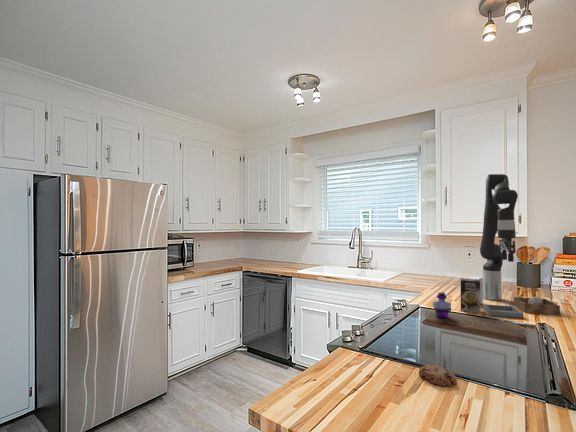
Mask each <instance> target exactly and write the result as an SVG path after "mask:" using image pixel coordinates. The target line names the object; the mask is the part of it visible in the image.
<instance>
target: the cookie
mask: <svg viewBox="0 0 576 432" xmlns="http://www.w3.org/2000/svg"><path fill="white" fill-rule="evenodd" d="M418 374H419V376H420V377H421V378H424V380H425V379H426V380H427V381H429V383H431V384H433V385H439V386H442V387H443V386H444V387H450V388H451V387H452V386H456V385H457V383H458V380H457V377H456V375H455V373H454V372H453V371H450V370H448V369H447V370H446V369H445V368H444V367H442V366H441V365H440V366H439V365H435V364H425V365H422V366H421V367H420V368H419V371H418Z"/></svg>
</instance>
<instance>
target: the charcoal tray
mask: <svg viewBox="0 0 576 432" xmlns="http://www.w3.org/2000/svg"><path fill="white" fill-rule="evenodd" d="M482 304H483V303H482ZM482 308H483V311H485V312H486V313H487V314H488V315H489V316H490V317H495V318H506V319H507V318H510V319H524V312H523V311H522V310H520V309H519V308H517V307H516V306H514V305H512V306H511V305H499V304H485V303H484V304H483V307H482Z"/></svg>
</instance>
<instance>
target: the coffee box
mask: <svg viewBox="0 0 576 432" xmlns="http://www.w3.org/2000/svg"><path fill="white" fill-rule="evenodd" d="M459 280H460V282H459V283H460V311H461V312H468V313H476V314H477V313H478V314H481V304H480V280H471V279H467V278H460V279H459Z"/></svg>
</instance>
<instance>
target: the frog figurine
mask: <svg viewBox="0 0 576 432" xmlns="http://www.w3.org/2000/svg"><path fill="white" fill-rule="evenodd" d="M530 298H531V299H529V300H528V304H543V301H542V300H541V299H542V297H539V296H534V297H530Z"/></svg>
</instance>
